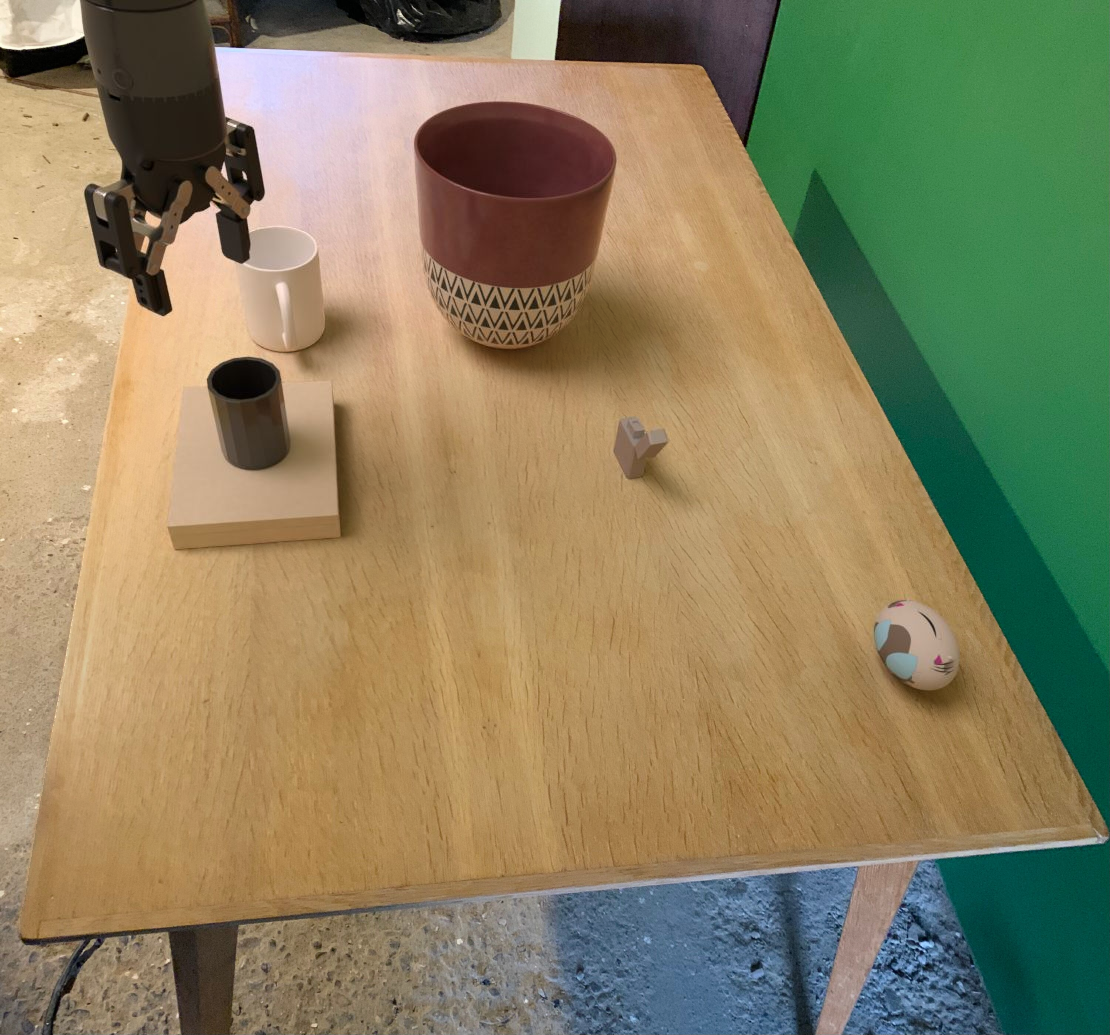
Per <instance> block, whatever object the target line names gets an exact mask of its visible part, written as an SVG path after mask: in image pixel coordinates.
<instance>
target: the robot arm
mask: <svg viewBox="0 0 1110 1035" xmlns="http://www.w3.org/2000/svg"><path fill="white" fill-rule="evenodd" d="M205 2H206V1H205V0H79V4H80V13H81V23H82V24H81V25H82V32H83V36H84V40H85V41H84V42H85V45H86V48H87V49H86V50H87V53H88V57H89V60H90V65H91V70H92V73H93V74H92V75H93V78H94V82H95V85H96V90H97V94H98V98H99V101H100V106H101V109H102V114H103V119H104V121H105V127H106V130H107V135H108V137H109V140H110V142H111V143H112V145H113V146H114V148H115V150H116V151H117V153H118V155H119V157H120V159H121V172H120V179H119V180H117V181H115V182H113V183H111V184H108V185H106V186H101V185H98V184H96V183H89V184H87V186H85V188H84V191H83V196H84V200H85V206H86V210H87V215H88V219H89V223H90V228H91V232H92V236H93V237H92V238H93V242H94V246H95V250H96V255H97V260H98V263H99V266H100V267H102V268H104V269H105V270H110V271H111V272H113V273H115V274H116V273H117V274H119V275H121V276H123V277H124V278H127V279H129V280H131V282H132V286H133V289H134V295H135V298H136V301H137V303H138V304H139V305H140V307H142V308H144V309H146V310H148V311H150V312H151V313H154V314H156V315H158V316H161V317H165V316H167V315H168V314H171V313H172V312H173V304H172V301H171V296H170V293H169V287H168V284H167V283H168V282H167V278H166V274H165V269H162V268H161V267H162V263H163V260H164V256H165V253H166V250H167V247H168V246H171V245H173V244H174V243H175V241H176V238H177V235H178V231H179V227H180V225H182V224H184V223H185V222H187V221H189V220H190V219H191V218H192V217H193V216H194V215H195V214H196V213H200V212H204V211H206V210H207V209H209V208H211V205H212V206H214V207H215V208H216V209H218V210H219V211H218V212H216V213H215V219H216V225H217V230H218V232H217V233H218V236H219V243H220V249H221V253H222V254H223V257H225V258H226V259H228V260H231V261H233V262H234V263H235V262H238V263H240V264H243V263H244V262H246V261H247V260H249V259H250V254H249V251H250V246H251V242H250V238H249V237H250V235H249V231H250V229H249V228H250V227H249V221H248V217H249V216H250V214H251V209H252V208H251V205H252V204H253V203H254V202H261V201H262V200H263V199H264V198H265V195H266V189H265V182H264V178H263V172H262V166H261V165H262V164H261V160H260V154H259V148H258V143H257V137H256V131H255V128H254V127H253V126H251V125H249V124H246V123H243V122H241V121H238V120H236V119H232V118H230V117H228V116H226V112H225V106H224V99H223V92H222V85H221V78H220V72H219V66H218V58H217V53H216V46H215V39H214V33H213V28H212V27H213V26H212V23H211V20H210V15H209V12H208V8H207V6H206V3H205ZM223 167H225V173H226V177H227V179H226V177H224V175H223V173H222V171H223ZM244 174H245V178H244ZM147 212H148V213H149V214H150V215H151V216H153V217H154V218H157V219H160V222H159V225H157V227H156V226H154V225H152V224H149V223H148V222H147V220H146V215H147ZM146 238H148V245H147V248H146V251H145V252H143V251H142V248H143V245H144V241H145V239H146Z"/></svg>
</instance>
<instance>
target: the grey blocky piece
mask: <svg viewBox="0 0 1110 1035" xmlns="http://www.w3.org/2000/svg"><path fill="white" fill-rule="evenodd" d="M668 443H669V439H668V436H667V433H666V429H665V428H659V429H651V430H648V431H646V429H645V427H644V425H643V423H642V421H641V419H640V418H639V417H636V416H634V415H633V416H627V417H620V418H619V421H618V425H617V431H616V436H615V441H614V446H613V454H614V456H615V458H616V460H617V462H618V464H619V466H620V468H621V470H622V472H623V474H624V476H625V477H626V479H628V480H629V479H636V478H642V477H643V475H644V473H645V468H646V464H647V460H648V459H653V458H656V457H657V456H658V454H659V453H661V451H663V449H664V448H665V447H666V446H667V445H668Z"/></svg>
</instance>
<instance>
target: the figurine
mask: <svg viewBox="0 0 1110 1035" xmlns="http://www.w3.org/2000/svg"><path fill="white" fill-rule="evenodd" d="M875 618H876V619H875V622H874V627H873V639H874V645H875V649H876V651H877V653H878V656H879V659H881V661H882V663H883V664H884V666H885V667H886V669H887V670H888V672H889V673H890V675H893V676H894V677H895V678H896V679H898V680H899V681H900V682H902V683H903V684H905V685H907V686H909V687H911V688H914V689H917V690H921V691H935V690H936V691H937V690H940V689H942V688H945V687H946V686H947V685H950V683H951V682H952V681H953V680H954V679H955V677H956V675H957V673H958V672H959V669H960V661H961V653H960V647H959V644H958V641H957V638H956V635H955V633H954V632H953V629H952V628H951V627H950V624H948V623H947V621H946V620H945V619H944V618H943V617H942V616H941V615H940V614H939V612H937V611H936V610H935V609H933V608H931V607H929V606H928V605H926V604H925V603H921V602H919V601H916V600H910V597H909V596H907V597H906V599H901V600H900V599H899V600H895V601H892V602H890V603H888V604H886V606H884V607H883V608H882V609H881V610H880V612H879V613H878V614H877V616H876V617H875Z"/></svg>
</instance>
